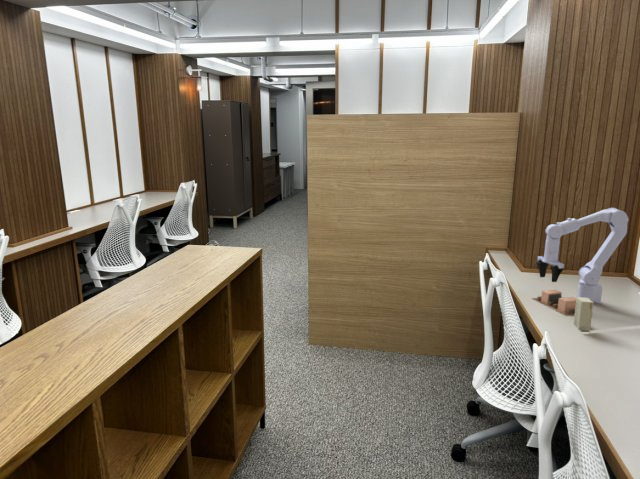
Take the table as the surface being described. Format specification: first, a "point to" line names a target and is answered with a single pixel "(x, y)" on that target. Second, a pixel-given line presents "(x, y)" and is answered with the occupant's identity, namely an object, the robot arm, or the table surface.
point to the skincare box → (583, 314)
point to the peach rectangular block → (550, 296)
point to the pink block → (566, 304)
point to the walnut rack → (555, 306)
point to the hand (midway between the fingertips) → (548, 279)
